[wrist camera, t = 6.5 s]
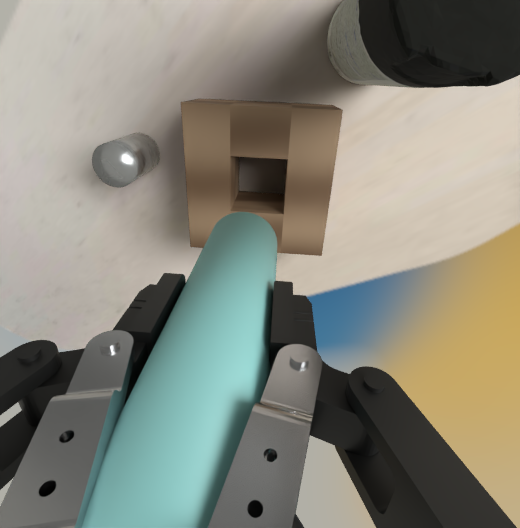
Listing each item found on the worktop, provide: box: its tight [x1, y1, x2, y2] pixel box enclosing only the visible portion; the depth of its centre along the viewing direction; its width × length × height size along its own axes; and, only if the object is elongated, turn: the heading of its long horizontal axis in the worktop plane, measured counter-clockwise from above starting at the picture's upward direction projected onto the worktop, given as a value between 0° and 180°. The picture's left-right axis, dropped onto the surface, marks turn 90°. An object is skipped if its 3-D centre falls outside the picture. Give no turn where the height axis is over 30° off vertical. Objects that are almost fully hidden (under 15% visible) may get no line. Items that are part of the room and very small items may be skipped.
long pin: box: [82, 212, 277, 528], centre depth 12 cm, size 4×4×14 cm
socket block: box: [181, 99, 343, 256], centre depth 30 cm, size 12×12×6 cm
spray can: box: [327, 0, 520, 88], centre depth 18 cm, size 7×7×20 cm
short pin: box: [92, 133, 160, 187], centre depth 30 cm, size 4×4×6 cm
